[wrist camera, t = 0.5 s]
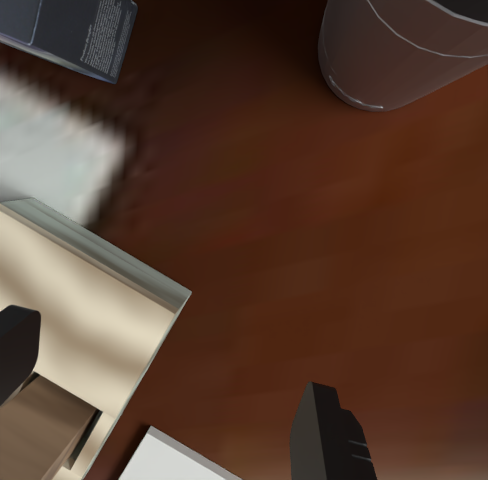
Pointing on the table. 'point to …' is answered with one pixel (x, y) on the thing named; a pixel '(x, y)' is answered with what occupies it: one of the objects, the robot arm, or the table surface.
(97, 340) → the slotted wooden base
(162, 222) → the table surface
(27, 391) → the brown wooden block
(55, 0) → the small box
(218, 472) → the grey pad
